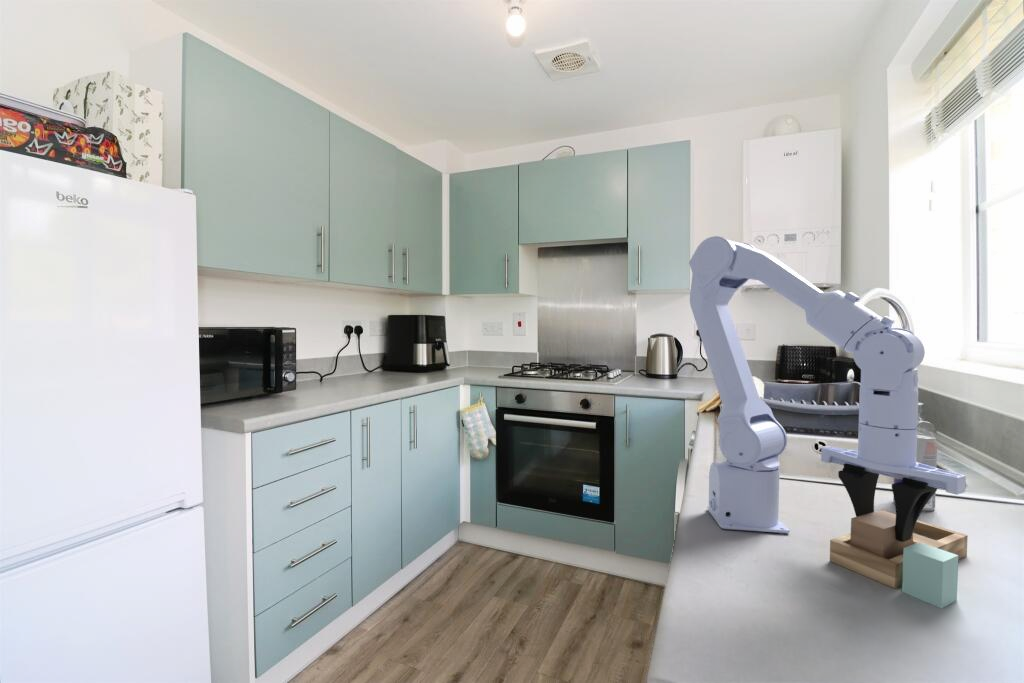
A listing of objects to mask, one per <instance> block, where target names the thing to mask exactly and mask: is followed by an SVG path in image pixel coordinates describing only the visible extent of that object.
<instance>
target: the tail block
mask: <svg viewBox="0 0 1024 683" xmlns="http://www.w3.org/2000/svg"><path fill="white" fill-rule="evenodd" d="M958 576H959V559H958V555H956V554H953V553H950V552H947V551H944V550H941V549H938V548H935V547H932V546H929V545H926V544H923V543H920V542H918V543H915V544H913V545H910V546H908V547H905V548H904V551H903V582H902V585H901V586H902V588H901V590H902V593H904V594H907V595H909V596H910V597H914V598H915V599H916V598H917V599H918V600H921V601H923V602H926V603H928V604H930V605H933V606H935V607H938V608H939V609H943V608H945V607H947V606H949V605H950V604H952V603H955V602H956V601H957V600H958V578H959V577H958Z"/></svg>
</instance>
